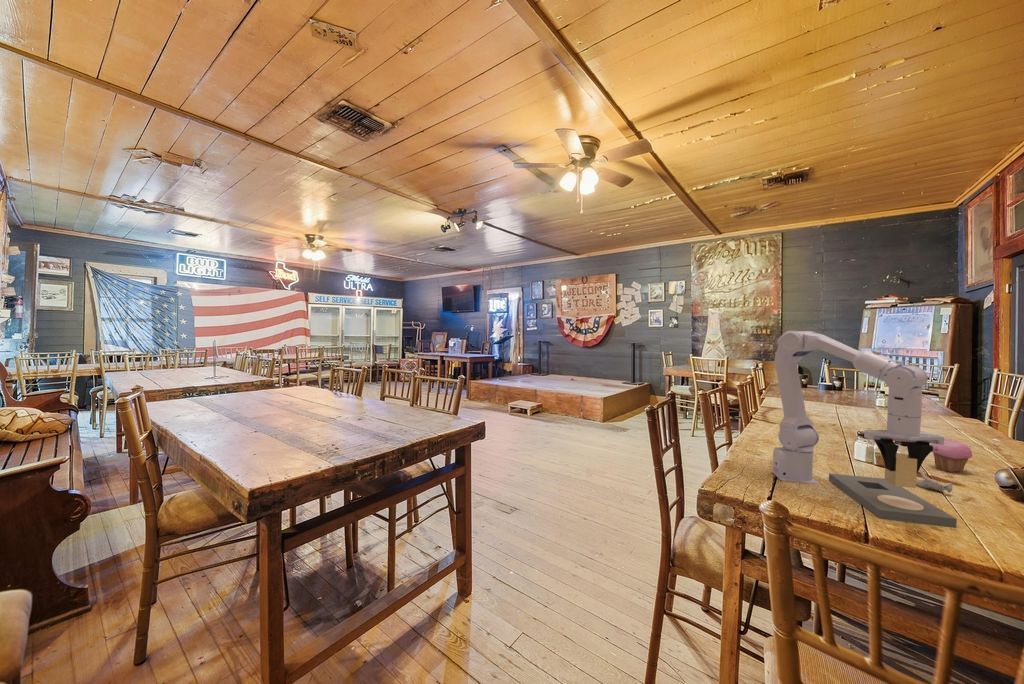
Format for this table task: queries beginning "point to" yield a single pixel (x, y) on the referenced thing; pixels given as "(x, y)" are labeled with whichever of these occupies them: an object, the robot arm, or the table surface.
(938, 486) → the soldier figure
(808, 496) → the table surface
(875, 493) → the board
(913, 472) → the brass post
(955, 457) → the cupcake
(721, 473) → the table surface
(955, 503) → the table surface
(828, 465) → the table surface
